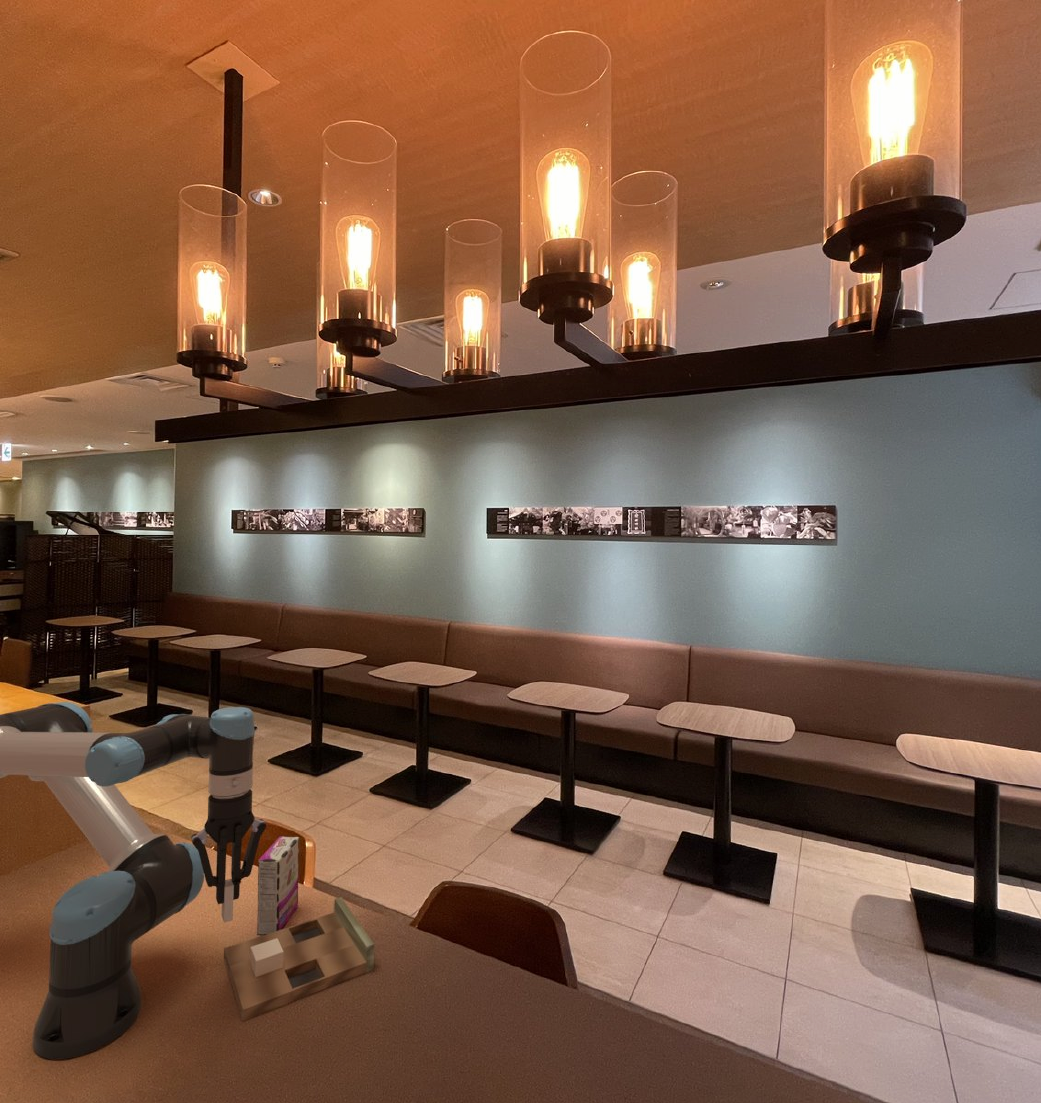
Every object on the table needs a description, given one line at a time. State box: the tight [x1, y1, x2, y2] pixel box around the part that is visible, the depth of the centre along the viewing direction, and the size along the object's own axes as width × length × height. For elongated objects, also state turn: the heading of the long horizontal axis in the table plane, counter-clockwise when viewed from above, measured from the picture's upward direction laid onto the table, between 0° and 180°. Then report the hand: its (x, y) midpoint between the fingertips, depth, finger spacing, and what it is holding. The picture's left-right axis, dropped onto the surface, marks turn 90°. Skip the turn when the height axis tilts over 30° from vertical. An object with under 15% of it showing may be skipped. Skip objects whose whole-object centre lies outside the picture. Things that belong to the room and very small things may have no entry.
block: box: [250, 938, 284, 977], centre depth 115 cm, size 5×5×3 cm
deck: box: [223, 896, 375, 1022], centre depth 119 cm, size 24×20×5 cm
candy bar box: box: [256, 835, 300, 936], centre depth 133 cm, size 11×5×16 cm, turn 179°
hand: (227, 917), depth 111 cm, fingers closed
